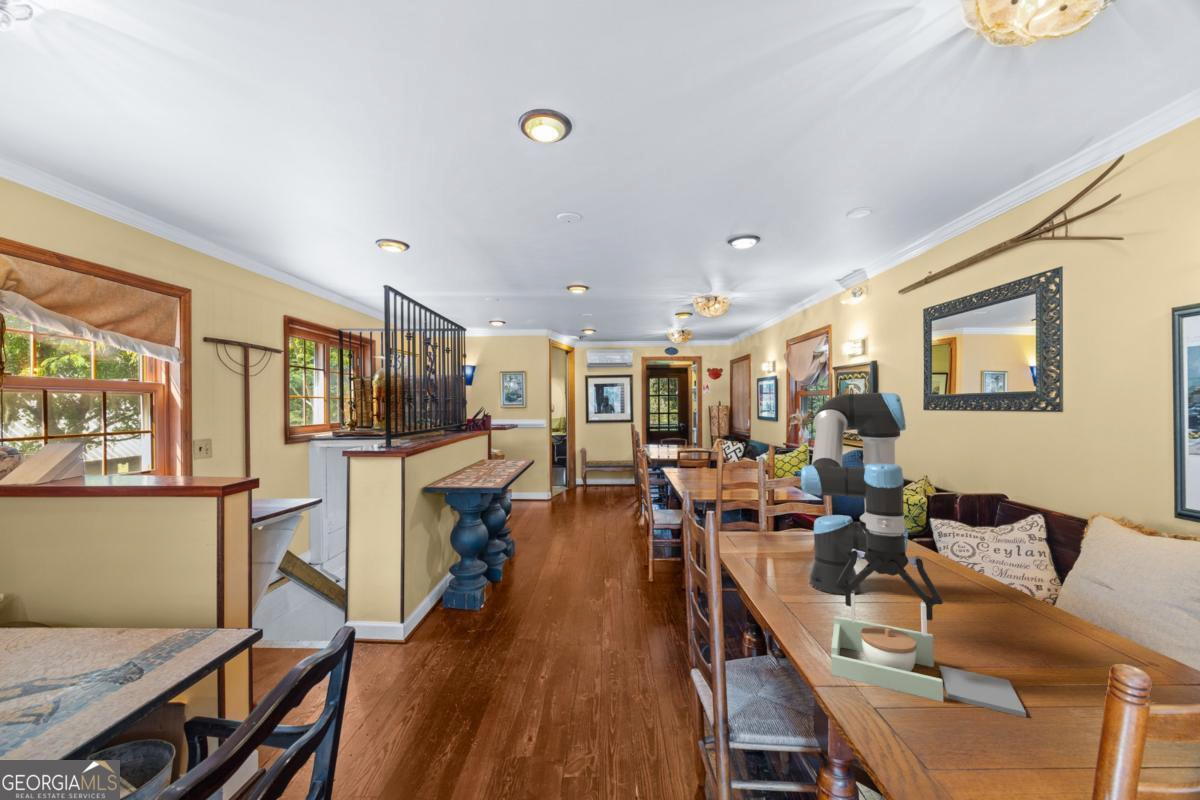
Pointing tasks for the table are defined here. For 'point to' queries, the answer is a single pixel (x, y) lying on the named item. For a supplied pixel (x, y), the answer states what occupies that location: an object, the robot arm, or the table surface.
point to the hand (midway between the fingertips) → (887, 627)
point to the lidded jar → (889, 647)
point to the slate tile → (981, 691)
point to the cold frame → (879, 675)
